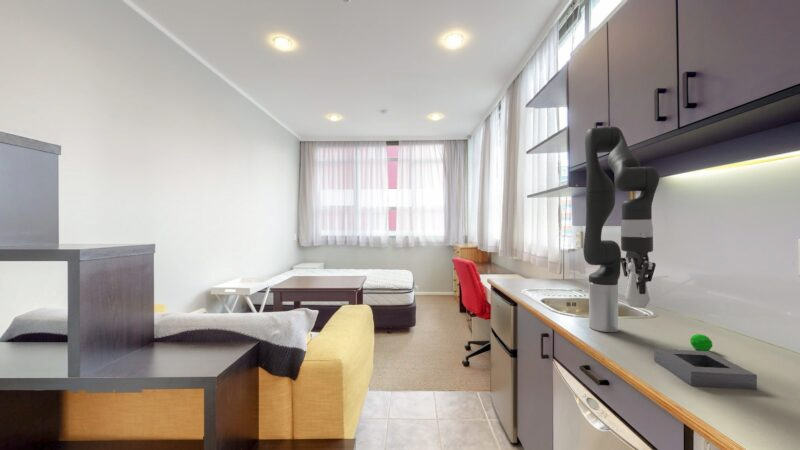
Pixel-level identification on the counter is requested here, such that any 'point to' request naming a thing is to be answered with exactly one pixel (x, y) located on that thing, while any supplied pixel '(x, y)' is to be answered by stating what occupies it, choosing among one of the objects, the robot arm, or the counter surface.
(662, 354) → the collar
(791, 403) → the counter surface
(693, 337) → the polyhedron
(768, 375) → the counter surface
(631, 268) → the salt shaker
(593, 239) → the robot arm
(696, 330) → the counter surface
